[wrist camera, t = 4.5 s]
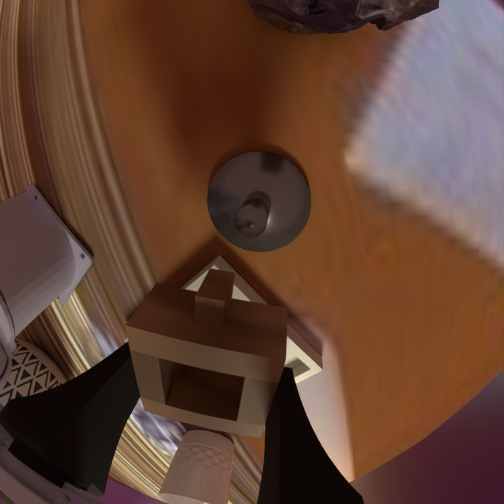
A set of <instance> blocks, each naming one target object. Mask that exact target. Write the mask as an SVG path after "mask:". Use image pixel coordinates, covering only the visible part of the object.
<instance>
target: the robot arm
mask: <svg viewBox="0 0 504 504" xmlns="http://www.w3.org/2000/svg"><path fill="white" fill-rule="evenodd" d="M37 197H38V198H37ZM83 254H84V255H83ZM92 263H93V258H92V256H91V255H90V254H89V252H88V251H87V250H86V249H85V248H84V247H83V246H82V244H81V243H80V242H79V241H78V240H77V239H76V237H75V236H74V235H73V234H72V233H71V231H70V230H69V229H68V228H67V227H66V225H65V224H64V223H63V222H62V220H61V219H60V218H59V217H58V215H57V214H56V213H55V212H54V210H53V209H52V208H51V206H50V205H49V204H48V203H47V201H46V200H45V199H44V197H43V196H42V194H41V193H40V192H39V190H38V189H37V188H36V186H35V185H34V184H31V185H29V186H28V188H27V191H26V192H24V193H21V194H19V195H16V196H14V197H12V198H9V199H7V200H4V201H2V202H0V391H1V390H2V389H3V387H4V386H5V384H6V383H7V381H8V379H9V377H10V374H11V370H12V360H11V356H10V355H11V353H12V352H13V351H14V350H15V349H16V348H17V346H16V344H15V341H14V338H15V337H16V336H17V335H18V334H19V333H20V332H21V331H22V330H23V329H24V328H25V327H26V326H27V325H28V324H29V323H30V322H32V321H33V320H34V319H35V318H36V317H37V316H38V315H39V314H40V313H41V312H42V311H43V310H44V309H45V308H46V307H47V306H49V305H50V304H51V303H52V302H53V301H54V300H55V299H57V300H58V301H59V303H61V304H63V305H64V304H65V303H66V302H67V300H68V299H69V297H70V295H71V294H72V292H73V291H74V289H75V288H76V286H77V285H78V283H79V282H80V280H81V279H82V277H83V276H84V274H85V273H86V272H87V270H88V269H89V267H90V266H91V264H92ZM139 398H140V392H139V388H138V384H137V380H136V376H135V371H134V367H133V363H132V358H131V353H130V348H129V343H128V342H126V343H125V344H124V345H122V346H121V347H120V348H118V349H117V350H116V351H115V352H113V353H112V354H110V355H109V356H108V357H106V358H105V359H104V360H102V361H101V362H99V363H98V364H96V365H95V366H93V367H92V368H90V369H89V370H87V371H86V372H84V373H82V374H81V375H79V376H77V377H75V378H73V379H71V380H70V381H68V382H65V383H63V384H61V385H59V386H56V387H54V388H51V389H49V390H46V391H43V392H40V393H37V394H33V395H29V396H25V397H20V398H15V399H10V400H9V401H8V402H7V403H6V405H5V406H4V407H3V409H2V410H1V412H0V424H1V425H2V427H3V428H4V429H5V430H6V431H7V432H8V433H9V435H10V436H11V437H12V438H13V439H14V440H13V442H12V444H10V443H8V442H7V441H6V440H5V439H4V438H3V436H2V435H1V434H0V490H1V491H2V492H3V493H4V494H5V495H6V496H8V497H9V498H10V499H11V500H12V501H13V502H14V503H15V504H72V501H71V499H72V500H74V501H75V502H77V503H79V504H108V503H106V502H103V501H102V500H100V499H97V498H95V497H93V496H91V495H89V494H87V493H85V492H83V491H82V490H84V491H86V492H87V491H88V492H90V493H92V494H94V495H96V496H101V495H103V494H104V492H105V488H106V483H107V479H108V474H109V471H110V467H111V463H112V460H113V457H114V454H115V451H116V448H117V445H118V442H119V439H120V437H121V434H122V431H123V429H124V427H125V424H126V422H127V420H128V419H129V417H130V415H131V413H132V411H133V409H134V407H135V406H136V404H137V402H138V400H139ZM80 489H82V490H80ZM257 504H364V501H363V498H362V496H361V495H360V494H359V493H358V492H357V491H356V490H355V489H354V488H353V487H352V486H351V485H350V484H349V482H348V481H347V480H346V479H345V478H344V476H343V475H342V474H341V473H340V472H339V470H338V469H337V468H336V466H335V465H334V463H333V462H332V461H331V459H330V458H329V456H328V455H327V453H326V452H325V450H324V448H323V447H322V445H321V443H320V442H319V440H318V438H317V436H316V434H315V432H314V430H313V428H312V426H311V424H310V422H309V419H308V417H307V415H306V412H305V410H304V407H303V404H302V402H301V399H300V396H299V393H298V390H297V386H296V382H295V378H294V374H293V369H292V368H290V367H284V368H283V371H282V374H281V378H280V381H279V384H278V387H277V390H276V393H275V396H274V399H273V403H272V406H271V409H270V412H269V414H268V417H267V420H266V423H265V452H264V465H263V472H262V478H261V484H260V490H259V496H258V501H257Z"/></svg>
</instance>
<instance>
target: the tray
mask: <svg viewBox="0 0 504 504" xmlns="http://www.w3.org/2000/svg"><path fill="white" fill-rule="evenodd" d="M210 268H211V269H217V270H222V271H228V272H234V273H235V277H234V286H233V294H232V298H234V299H239V300H245V301H250V302H256V303H262V304H267V303H266V302H265V301H264V300H263V299H262V298H261V297H260V296H259V295H258V294H257V293H256V292H255V291H254V290H253V289H252V288H251V287H250V286H249V285H248V284H247V283H246V282H245V281H244V280H243V279H242V277H241V276H240V275H239V274H238V273H237V272H236V271H235V270H234V269H233V268H232V267H231V266H230V265H229V264H228V263H227V262H226V261H225V260H224V259H223V258H222V257H221V256H220V255H219V256H218V257H217V258H215V259H214V260H213V261H212V262H211V263H210V264H208V265H207V266H206V267H205V268H204V269H202V270H201V271H200V272H199V273H198V274H196V275H195V276H194V277H193V278H192V279H191V280H189V281H188V282H187V283H186V284H185V285H183V286H182V287H181V288H182V289H187V290H192V291H198V289H199V288H200V286H201V284H202V282H203V280H204V278H205V276H206V275H207V273H208V271H209V269H210ZM124 341H125V342H128V338H127V337H126V338H125V340H124ZM284 367H290V368H292V369H293V374H294V378H295V382H296V383H298V382H300V381H302V380H304V379H306V378H308V377H310V376H312V375H314V374H316V373H318V372H320V371H322V370H323V363H322V357H321V356H320V355H319V354H318V353H317V352H316V351H315V350H314V349H313V348H312V347H311V346H310V345H309V344H308V343H307V342H306V341H305V340H304V339H303V338H302V337H301V336H300V335H299V334H298V333H297V332H296V331H295V330H294V329H293V328H292V327H290V326H289V325H288V324H287V348H286V361H285V365H284Z"/></svg>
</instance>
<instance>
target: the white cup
mask: <svg viewBox="0 0 504 504" xmlns="http://www.w3.org/2000/svg"><path fill="white" fill-rule="evenodd" d="M233 450H234V444H233V443H232V442H231V441H230V440H229V439H228V438H226V437H224V436H222V435H220V434H217V433H214V432H211V431H206V430H189V431H187V432H186V433H185V434H184V435H183V437H182V440H181V442H180V445H179V448H178V449H177V451H176V453H175V455H174V458H173V460H172V462H171V464H170V467H169V469H168V472H167V474H166V477H165V479H164V482H163V484H162V487H161V489H160V492H159V494H158V496H159V497H160V498H161V499H163V500H164V501H166V502H168V503H170V504H227V503H228V496H229V489H230V482H231V475H232V466H233V464H232V457H233Z"/></svg>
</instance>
